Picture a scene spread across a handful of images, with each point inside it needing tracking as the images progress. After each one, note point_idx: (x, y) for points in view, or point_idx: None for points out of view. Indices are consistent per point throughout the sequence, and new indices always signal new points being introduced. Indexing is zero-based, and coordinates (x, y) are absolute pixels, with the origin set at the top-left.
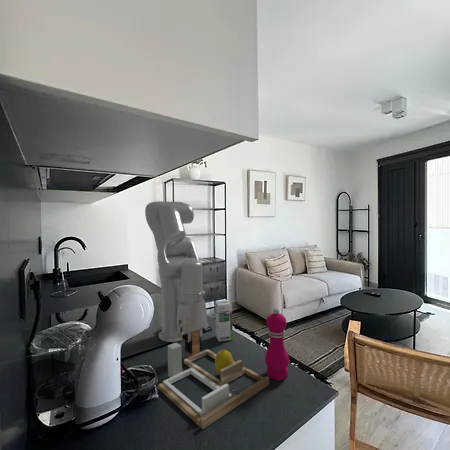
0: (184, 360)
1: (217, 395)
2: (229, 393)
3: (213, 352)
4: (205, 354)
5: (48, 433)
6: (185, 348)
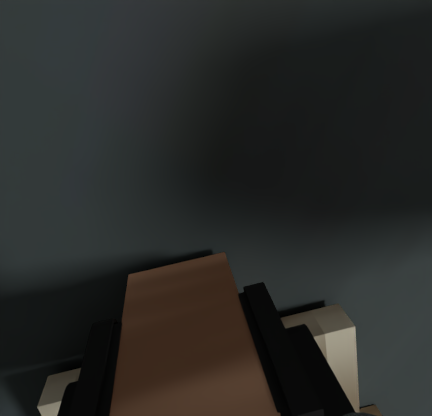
0: (43, 410)
1: None
2: None
3: (358, 399)
4: None
5: None
6: (67, 402)
